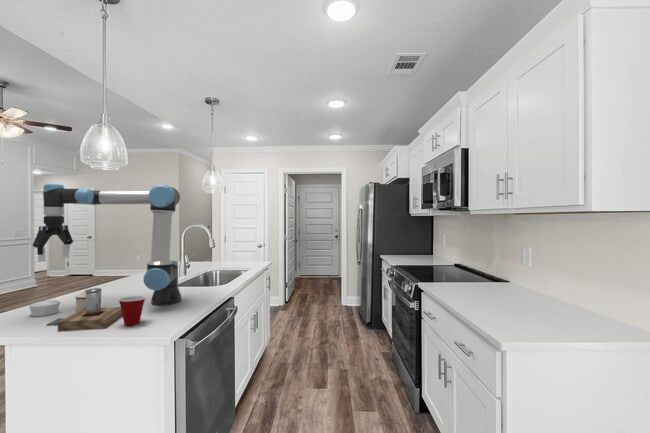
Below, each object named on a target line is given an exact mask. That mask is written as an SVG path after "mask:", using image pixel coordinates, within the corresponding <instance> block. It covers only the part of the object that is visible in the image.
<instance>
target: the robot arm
mask: <svg viewBox="0 0 650 433" xmlns="http://www.w3.org/2000/svg"><path fill="white" fill-rule="evenodd" d="M42 191H43V192H42V195H43V196H42V198H43V200H42V201H43V215H44V216H43V224H44V226H43V225H42V226H41V225H40V226H38V232H37V234H36V237H35V238H34V240H33V243H32V247H33V248H35V249H36V248H37V249H36V250H37V251H36V252H37V253H36V254H37V261H38V262H47V260H46V247H45V246H46V244H47V243H48V241H49V240H50V238H51V237H52V236H57V237H58V238H59V240H60V241H61V242H62V243H63V244H62V247H61V249H62V252H61V253H62V258H70V245H72V244H73V243H74V240H73V237H72V236H71V233H70V232H71V231H69V226H68V225H66V224H65V216H64V215H65V204H67V205H68V204H70V205H71V204H72V205H73V204H75V205H76V204H78V205H92V206H95V205H150V208H149V211H150V212H151V213H153V216H152V233H151V235H152V236H151V249H150V250H151V251H150V260H149V261H148V262H147V264H146V272H144V275H143V284H144V285H145V286H146V288H147V289H149V290H150V291H151V290H152V291H153V293H152V296H151V298H150V304H151V305H153V306H167V305H172V304H173V305H174V304H177V303H179V302H181V301H182V294H181V291H180V289H179V264H178V261H177V260H171V259H170V257H171V256H170V255H171V239H172V238H171V237H172V219H173V214H174V213H175V212H176V209H177V208H176V206H177V205H178V204H179V202H180V200H181V195H180V193H179V191H178V190H177V189H176V188H175V187H172V186H170V185H167V184H157V185H154V186H152V187H151V189H150V190H93V189H90V188H84V187H83V188H65V187H64V185H63V184H62V183H45V184H44V185H43V190H42Z"/></svg>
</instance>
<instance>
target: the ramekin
mask: <svg viewBox="0 0 650 433" xmlns="http://www.w3.org/2000/svg"><path fill="white" fill-rule="evenodd" d="M60 305H61V301H60V300H55V299H53V300H44V301H38V302H35V303H32V304H31V303H30V304H29V306H28V308H29V310H30V315H31V317H34V316H35V318H37V317H39V316H41V317H48V316H52V315H54V314H57V313H58V311H59V308H60ZM51 314H52V315H51ZM47 315H48V316H47ZM39 318H40V317H39Z"/></svg>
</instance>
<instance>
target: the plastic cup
mask: <svg viewBox="0 0 650 433" xmlns="http://www.w3.org/2000/svg"><path fill="white" fill-rule="evenodd" d="M146 299H147V296H144V295H132V296H131V295H130V296H124V297H121V298H118V299H117V300H118V302H119V307H121V311H122V319H123V324H124V326H125V327H133V326H137V325H139V324H140V323H141V318H142V314H143V313H142V312H143V307H144V304H145V300H146Z"/></svg>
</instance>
